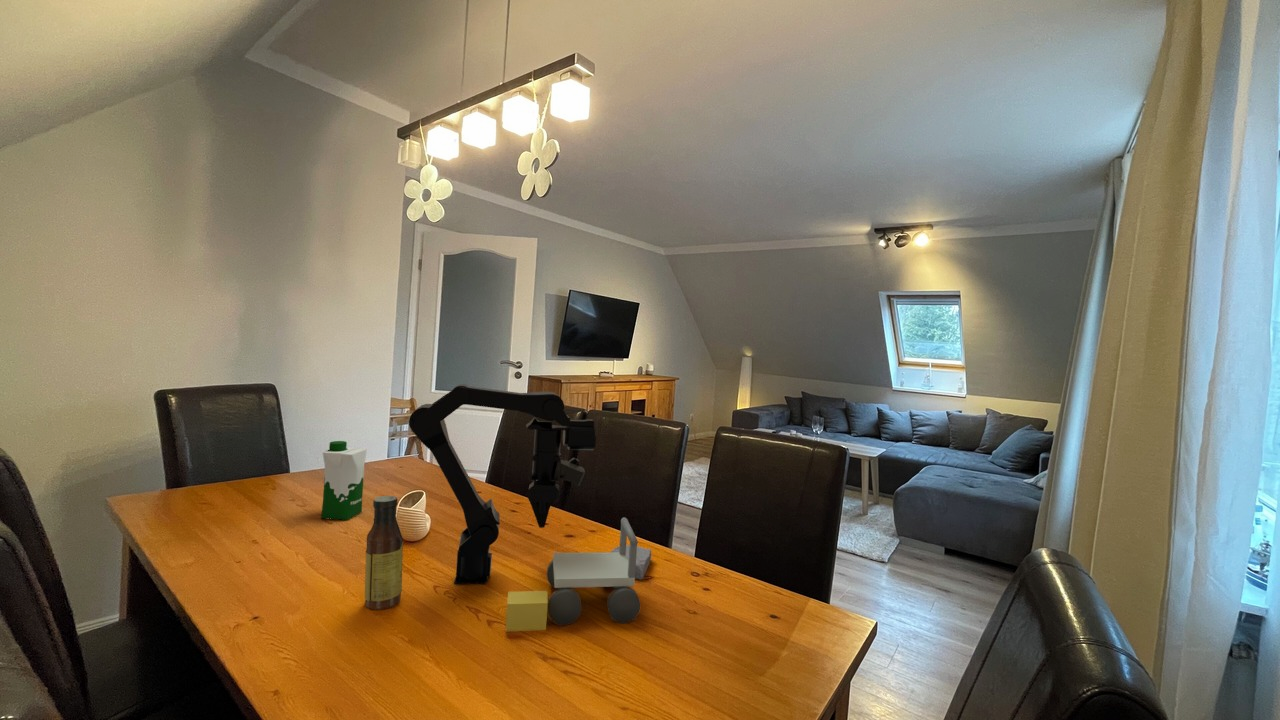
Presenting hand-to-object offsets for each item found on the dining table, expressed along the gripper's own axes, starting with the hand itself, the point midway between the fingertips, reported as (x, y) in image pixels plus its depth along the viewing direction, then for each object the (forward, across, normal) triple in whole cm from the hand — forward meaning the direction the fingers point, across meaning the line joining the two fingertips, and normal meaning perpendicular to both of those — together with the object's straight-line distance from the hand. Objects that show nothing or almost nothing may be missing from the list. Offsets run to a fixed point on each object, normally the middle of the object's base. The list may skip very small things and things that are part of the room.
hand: (542, 520), depth 113 cm
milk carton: (+12, +36, +54) cm, 66 cm away
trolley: (+12, -13, -10) cm, 20 cm away
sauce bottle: (+12, -12, +29) cm, 33 cm away
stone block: (+13, +4, -20) cm, 24 cm away
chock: (+12, -20, +2) cm, 24 cm away
